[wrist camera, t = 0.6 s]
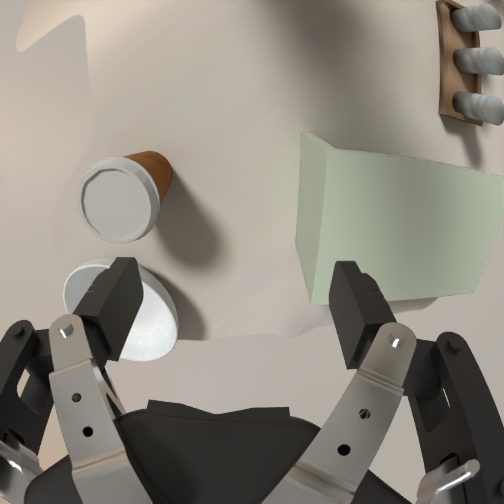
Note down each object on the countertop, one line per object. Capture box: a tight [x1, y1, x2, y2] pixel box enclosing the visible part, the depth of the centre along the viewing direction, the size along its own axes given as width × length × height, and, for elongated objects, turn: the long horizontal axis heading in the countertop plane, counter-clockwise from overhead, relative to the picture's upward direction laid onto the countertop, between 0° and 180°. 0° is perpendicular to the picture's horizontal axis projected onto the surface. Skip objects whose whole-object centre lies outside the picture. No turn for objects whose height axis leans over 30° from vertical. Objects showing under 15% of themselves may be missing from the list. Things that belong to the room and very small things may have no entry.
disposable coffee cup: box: [78, 151, 172, 244], centre depth 31 cm, size 10×10×12 cm
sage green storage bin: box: [295, 132, 504, 305], centre depth 31 cm, size 16×24×14 cm, turn 90°
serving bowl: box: [63, 257, 178, 361], centre depth 44 cm, size 21×21×7 cm
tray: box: [435, 0, 504, 126], centre depth 21 cm, size 19×7×9 cm, turn 0°
